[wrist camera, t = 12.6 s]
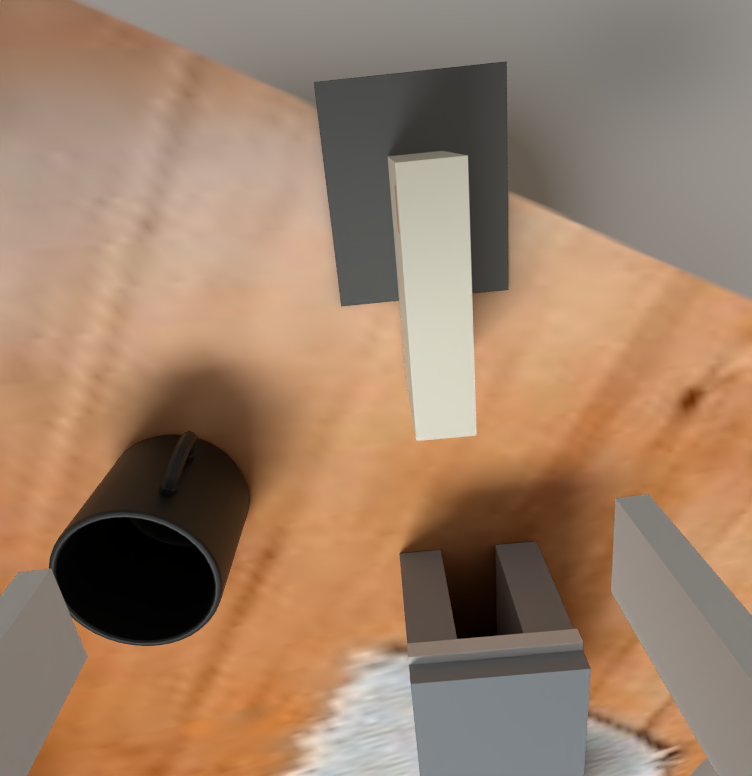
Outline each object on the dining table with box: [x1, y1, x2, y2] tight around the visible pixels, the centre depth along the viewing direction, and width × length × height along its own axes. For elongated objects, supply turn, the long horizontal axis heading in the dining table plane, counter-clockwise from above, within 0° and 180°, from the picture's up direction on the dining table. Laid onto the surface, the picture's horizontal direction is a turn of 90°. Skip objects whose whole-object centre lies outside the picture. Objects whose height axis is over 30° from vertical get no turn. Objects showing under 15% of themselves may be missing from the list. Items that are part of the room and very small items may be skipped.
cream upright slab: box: [388, 151, 476, 441], centre depth 31 cm, size 3×13×8 cm, turn 5°
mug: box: [49, 431, 249, 646], centre depth 36 cm, size 9×12×9 cm
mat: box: [314, 62, 508, 306], centre depth 33 cm, size 10×12×1 cm
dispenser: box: [400, 541, 591, 776], centre depth 41 cm, size 10×17×11 cm, turn 5°
